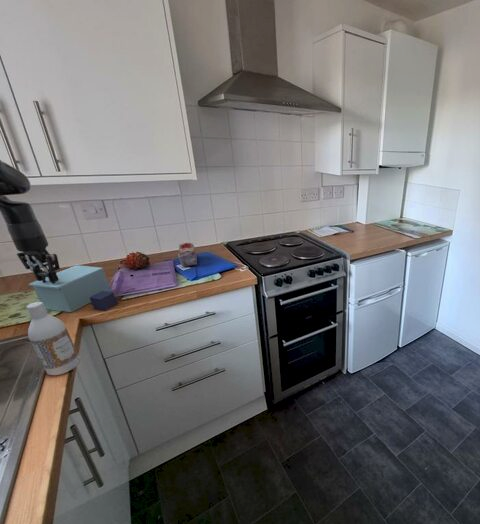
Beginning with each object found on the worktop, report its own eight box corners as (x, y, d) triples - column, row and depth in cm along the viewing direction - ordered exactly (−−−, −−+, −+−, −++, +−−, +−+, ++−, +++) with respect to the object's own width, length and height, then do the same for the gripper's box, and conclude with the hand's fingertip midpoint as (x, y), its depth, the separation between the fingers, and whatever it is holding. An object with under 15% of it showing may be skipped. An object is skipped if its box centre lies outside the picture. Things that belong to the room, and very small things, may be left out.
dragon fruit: (154, 269, 144) (126, 276, 141) (153, 255, 148) (126, 261, 145) (145, 261, 136) (115, 267, 134) (144, 246, 140) (116, 252, 138)
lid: (58, 289, 102) (52, 276, 100) (29, 285, 105) (23, 272, 103) (103, 269, 117) (99, 257, 115) (77, 266, 119) (72, 255, 117)
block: (105, 310, 108) (100, 298, 106) (94, 309, 109) (89, 297, 107) (117, 303, 112) (113, 292, 110) (106, 302, 113) (102, 290, 111)
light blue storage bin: (71, 312, 107) (60, 288, 103) (43, 308, 109) (32, 284, 105) (111, 291, 121) (103, 269, 117) (85, 288, 123) (77, 267, 119)
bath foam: (60, 378, 78) (28, 313, 70) (40, 373, 80) (6, 310, 72) (87, 360, 84) (60, 299, 77) (68, 356, 86) (39, 295, 78)
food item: (199, 265, 145) (195, 246, 141) (181, 269, 141) (176, 249, 137) (196, 256, 156) (192, 238, 152) (179, 259, 152) (174, 241, 148)
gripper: (-4, 236, 96) (19, 283, 102) (31, 239, 93) (53, 287, 100) (24, 229, 102) (44, 274, 109) (57, 232, 100) (76, 278, 107)
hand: (48, 280), depth 105 cm, fingers closed on lid, 5 cm apart
